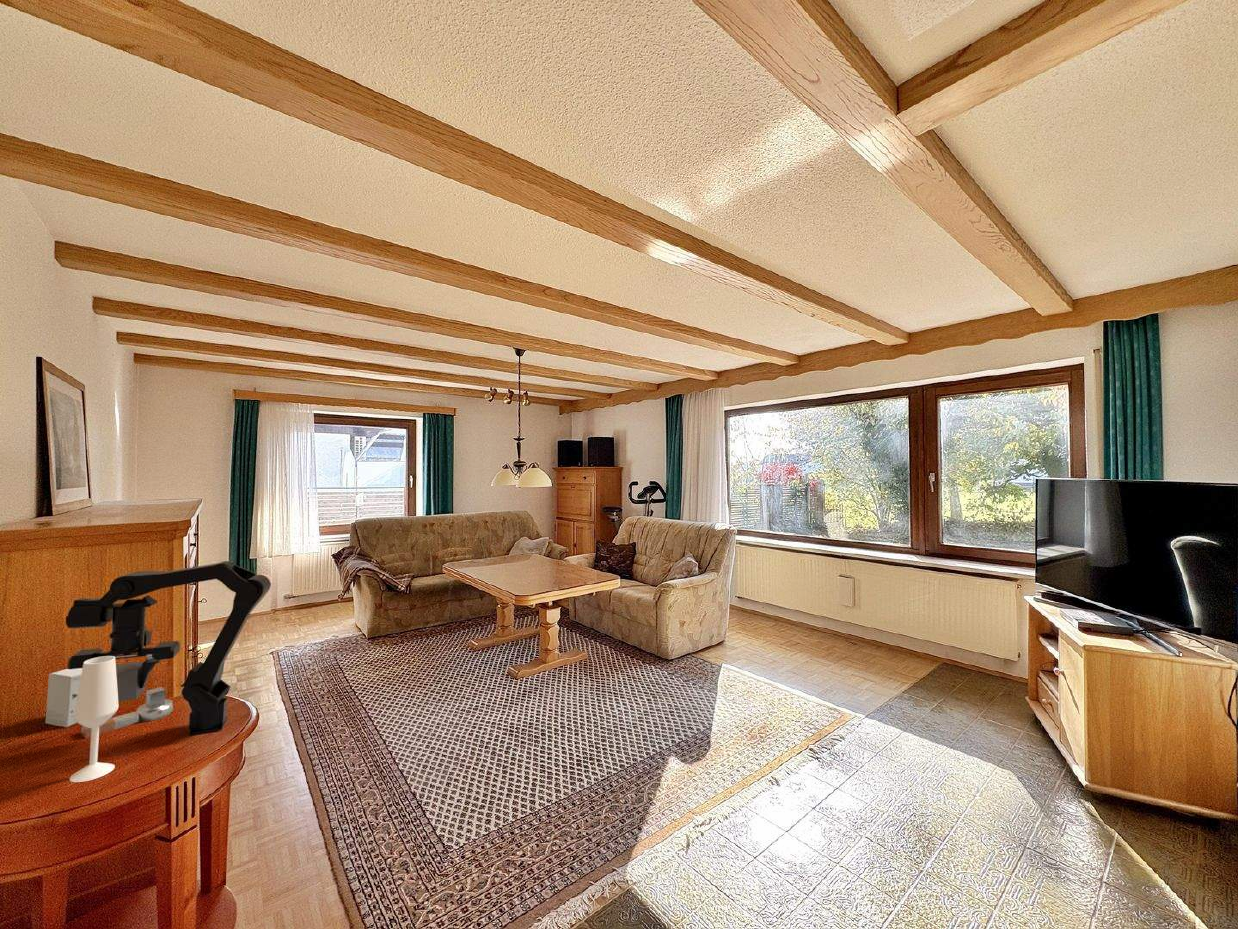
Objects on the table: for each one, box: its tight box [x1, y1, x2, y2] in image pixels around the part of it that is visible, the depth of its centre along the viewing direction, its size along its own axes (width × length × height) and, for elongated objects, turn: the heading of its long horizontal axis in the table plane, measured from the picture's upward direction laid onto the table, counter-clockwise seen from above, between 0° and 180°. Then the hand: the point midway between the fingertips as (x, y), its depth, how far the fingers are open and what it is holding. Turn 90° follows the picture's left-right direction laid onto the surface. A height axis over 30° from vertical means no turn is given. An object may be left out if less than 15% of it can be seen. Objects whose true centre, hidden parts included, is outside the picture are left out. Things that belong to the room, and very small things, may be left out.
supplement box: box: [45, 668, 83, 728], centre depth 127 cm, size 7×7×13 cm
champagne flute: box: [69, 656, 119, 783], centre depth 106 cm, size 7×7×24 cm
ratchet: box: [80, 686, 174, 739], centre depth 127 cm, size 7×16×6 cm, turn 148°
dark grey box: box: [116, 660, 147, 703], centre depth 120 cm, size 6×6×7 cm
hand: (124, 689), depth 120 cm, fingers closed on dark grey box, 6 cm apart
